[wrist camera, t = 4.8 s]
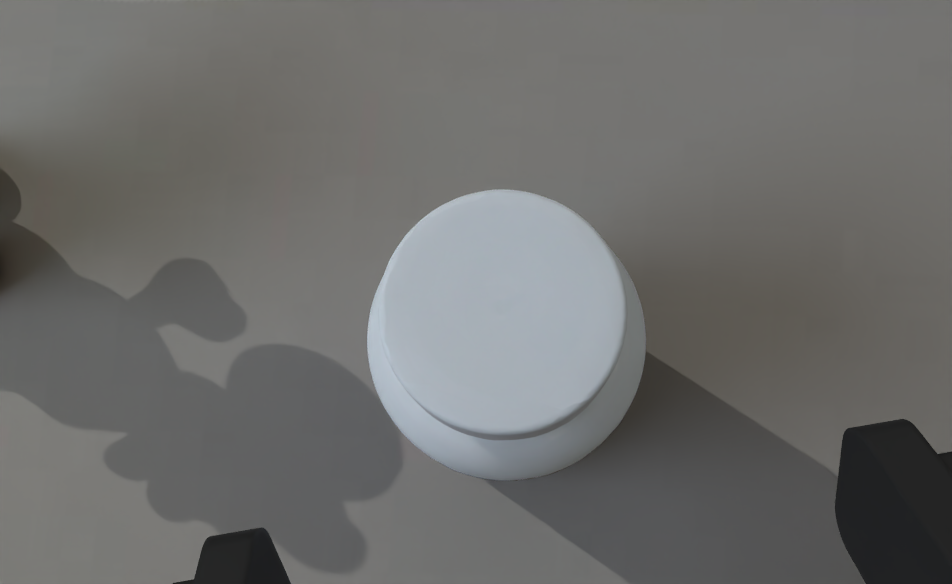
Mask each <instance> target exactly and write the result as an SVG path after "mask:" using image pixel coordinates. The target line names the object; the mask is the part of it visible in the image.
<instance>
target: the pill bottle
mask: <svg viewBox="0 0 952 584" xmlns="http://www.w3.org/2000/svg"><path fill="white" fill-rule="evenodd" d="M367 349H368V360H369V365H370V371H371V374H372V378H373V382H374V385H375V388H376V391H377V393H378V395H379V397H380V399H381V402H382V404H383V405H384V407H385V409H386V411H387V413H388V414H389V416H390V417H391V419H392V420H393V422H394V423H395V424H396V426H397V427H398V428H399V429H400V431H401V432H402V433H403V434H404V435H405V436H406V437H407V438H408V439H409V440H410V441H411V442H412V443H413V444H414V445H415V446H416V447H417V448H419V449H420V450H421V451H423V452H424V453H425V454H427V455H428V456H429V457H430V458H432V459H434V460H436V461H438V462H439V463H441V464H443V465H445V466H446V467H448V468H450V469H452V470H454V471H457V472H460V473H463V474H466V475H470V476H474V477H478V478H482V479H489V480H499V481H509V480H522V479H531V478H535V477H540V476H545V475H549V474H552V473H555V472H557V471H560V470H562V469H564V468H566V467H569V466H570V465H572V464H574V463H576V462H577V461H579V460H581V459H582V458H583V457H585V456H586V455H588V454H589V453H590V452H592V451H593V450H594V449H595V448H596V447H598V446H599V445H600V444H601V443H603V442H604V441H605V439H606V438H607V437H608V436H609V435H610V434H611V433H612V432H613V431H614V429H615V428H616V427H617V426H618V425H619V424H620V422H621V421H622V419H623V417H624V415H625V414H626V412H627V410H628V408H629V407H630V405H631V403H632V401H633V399H634V397H635V394H636V392H637V389H638V386H639V383H640V380H641V376H642V372H643V368H644V362H645V355H646V330H645V322H644V315H643V311H642V307H641V303H640V300H639V297H638V294H637V291H636V288H635V286H634V284H633V282H632V280H631V278H630V276H629V274H628V272H627V271H626V269H625V267H624V266H623V264H622V263H621V261H620V260H619V258H618V257H617V256H616V255H615V253H614V252H613V251H612V250H611V249H610V247H609V246H608V245H607V244H606V243H605V241H604V240H603V239H602V237H601V236H600V235H599V234H598V232H597V231H596V230H595V229H594V228H593V227H592V226H591V225H590V224H589V223H588V222H587V221H586V220H585V219H583V218H582V217H581V216H580V215H578V214H577V213H576V212H574V211H572V210H571V209H569V208H568V207H566V206H564V205H562V204H560V203H559V202H557V201H554V200H552V199H549V198H546V197H543V196H540V195H537V194H534V193H529V192H524V191H518V190H501V189H496V190H488V191H482V192H477V193H472V194H468V195H465V196H462V197H459V198H457V199H454V200H452V201H450V202H448V203H446V204H443V205H442V206H440V207H438V208H437V209H435V210H433V211H432V212H431V213H429V214H428V215H426V216H425V217H424V218H423V219H421V220H420V221H419V222H418V223H417V224H416V225H415V226H414V227H413V228H412V229H411V230H410V231H409V232H408V233H407V234H406V236H405V237H404V238H403V240H402V241H401V243H400V244H399V245H398V247H397V248H396V250H395V252H394V254H393V255H392V257H391V259H390V261H389V263H388V266H387V268H386V271H385V274H384V276H383V278H382V280H381V282H380V284H379V287H378V289H377V291H376V294H375V296H374V300H373V303H372V307H371V310H370V316H369V323H368V333H367Z"/></svg>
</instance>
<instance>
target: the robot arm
mask: <svg viewBox="0 0 952 584" xmlns="http://www.w3.org/2000/svg"><path fill="white" fill-rule="evenodd" d="M835 512H836V519H837V524H838V528H839V532H840V535H841V538H842V540H843V543H844V545H845V547H846V549H847V551H848V553H849V555H850V556H851V558H852V560H853V562H854V563H855V565H856V567H857V569H858V570H859V572H860V574H861V576H862V577H863V579H864V581H865V583H866V584H952V452H947V453H941V454H937V453H936V452H935V451H934V449H933V448H932V447H931V446H930V444H929V443H928V442H927V440H926V439H925V438H924V437H923V435H922V434H921V433H920V432H919V430H918V429H917V428H916V427H915V426H914V425H913V424H912V423H911V422H910V421H908V420H905V419H899V420H894V421H888V422H882V423H876V424H870V425H865V426H859V427H853V428H848V429H847V430H846V431H845V432H844V435H843V440H842V448H841V457H840V466H839V474H838V483H837V492H836V501H835ZM173 584H291V583H290V580H289V578H288V576H287V574H286V571H285V569H284V567H283V565H282V562H281V560H280V558H279V556H278V553H277V551H276V549H275V546H274V544H273V542H272V540H271V537H270V535H269V533H268V532H267V530H266V529H264V528H256V529H250V530H245V531H239V532H233V533H227V534H221V535H216V536H210V537H208V538H207V539H206V541H205V543H204V545H203V547H202V551H201V555H200V559H199V562H198V566H197V570H196V574H195V578H194V580H188V581H182V582H177V583H173Z"/></svg>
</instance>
